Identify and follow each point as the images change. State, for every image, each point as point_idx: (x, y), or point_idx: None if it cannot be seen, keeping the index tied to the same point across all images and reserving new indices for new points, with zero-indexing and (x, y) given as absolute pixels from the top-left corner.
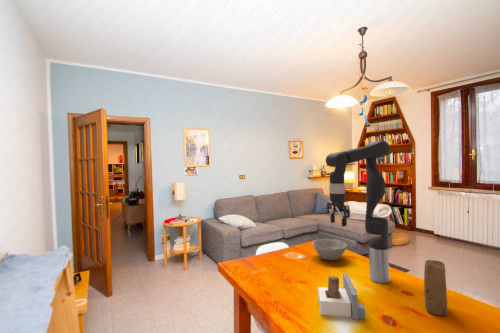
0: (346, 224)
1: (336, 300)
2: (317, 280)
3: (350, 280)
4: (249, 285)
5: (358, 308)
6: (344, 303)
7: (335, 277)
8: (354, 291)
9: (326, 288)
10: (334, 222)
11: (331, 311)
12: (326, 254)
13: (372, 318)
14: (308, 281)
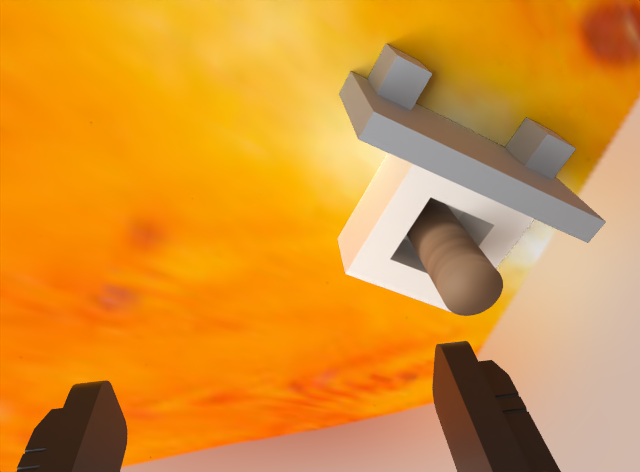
0: (501, 371)
1: (491, 255)
2: (140, 151)
3: (468, 157)
4: (139, 442)
5: (555, 173)
6: (521, 231)
7: (469, 277)
8: (574, 215)
9: (376, 243)
10: (108, 382)
11: None
12: None
13: (568, 99)
14: (145, 206)
